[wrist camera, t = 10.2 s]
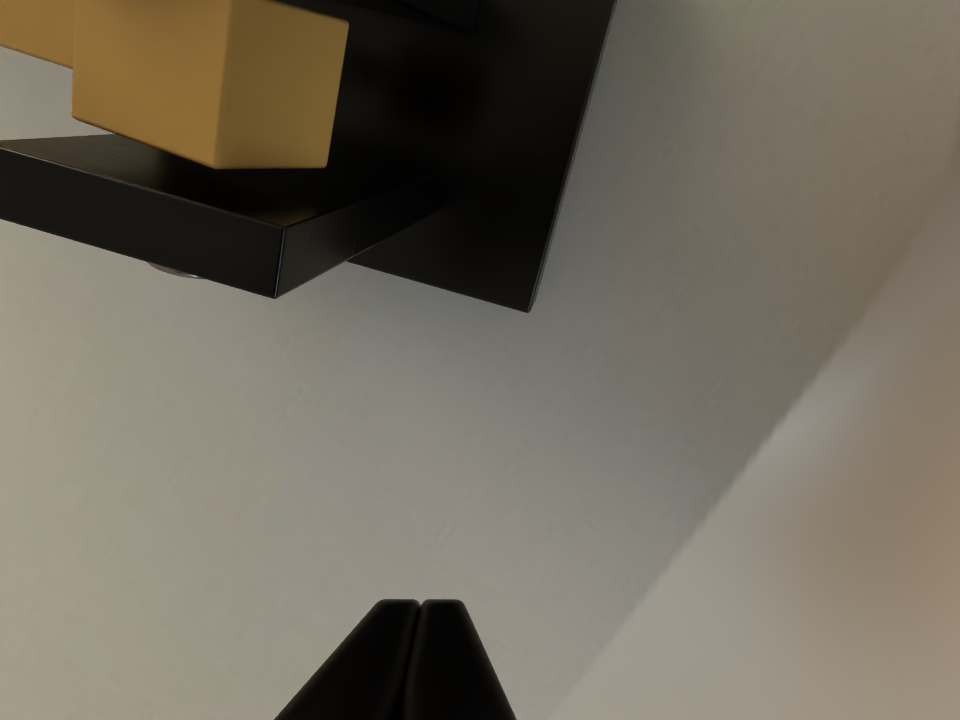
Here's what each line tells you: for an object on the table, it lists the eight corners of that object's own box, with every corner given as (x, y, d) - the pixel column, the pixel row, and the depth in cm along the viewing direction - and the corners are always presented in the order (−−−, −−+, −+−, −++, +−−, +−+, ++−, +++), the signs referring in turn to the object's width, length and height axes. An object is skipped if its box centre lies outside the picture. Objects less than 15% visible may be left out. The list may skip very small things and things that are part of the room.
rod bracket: (179, 201, 20) (-187, 279, 11) (211, -160, 17) (-251, -453, 8) (535, 302, 19) (449, 476, 10) (634, -63, 16) (638, -273, 7)
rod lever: (-103, 46, 17) (-297, 22, 14) (-109, -119, 15) (-321, -181, 13) (338, 199, 12) (188, 209, 10) (373, -11, 11) (214, -67, 9)
